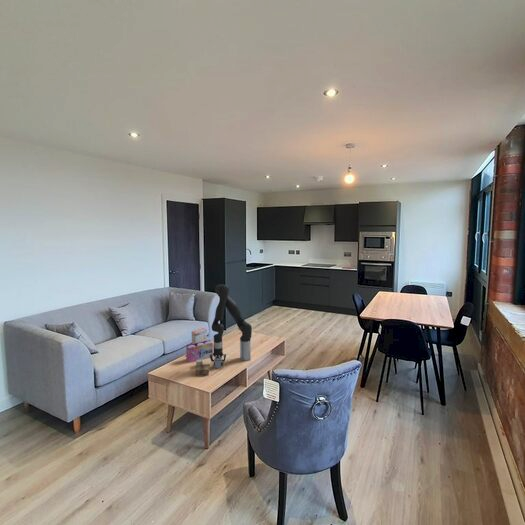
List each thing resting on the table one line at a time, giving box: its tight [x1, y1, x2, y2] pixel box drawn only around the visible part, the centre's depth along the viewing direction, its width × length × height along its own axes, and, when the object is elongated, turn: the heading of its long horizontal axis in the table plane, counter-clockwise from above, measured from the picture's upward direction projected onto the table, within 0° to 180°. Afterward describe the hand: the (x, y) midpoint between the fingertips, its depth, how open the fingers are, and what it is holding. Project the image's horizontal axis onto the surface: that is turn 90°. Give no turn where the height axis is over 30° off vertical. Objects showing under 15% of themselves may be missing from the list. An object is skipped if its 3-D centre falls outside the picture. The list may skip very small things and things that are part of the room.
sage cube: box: [195, 359, 204, 367], centre depth 270 cm, size 5×5×5 cm
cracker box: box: [191, 327, 208, 344], centre depth 301 cm, size 14×6×21 cm, turn 142°
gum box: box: [185, 339, 214, 363], centre depth 286 cm, size 24×8×14 cm, turn 124°
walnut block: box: [195, 363, 210, 377], centre depth 258 cm, size 10×10×5 cm
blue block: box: [214, 359, 222, 369], centre depth 269 cm, size 5×5×6 cm
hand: (218, 366), depth 269 cm, fingers closed on blue block, 5 cm apart
